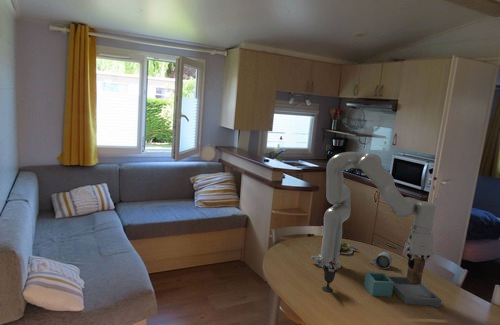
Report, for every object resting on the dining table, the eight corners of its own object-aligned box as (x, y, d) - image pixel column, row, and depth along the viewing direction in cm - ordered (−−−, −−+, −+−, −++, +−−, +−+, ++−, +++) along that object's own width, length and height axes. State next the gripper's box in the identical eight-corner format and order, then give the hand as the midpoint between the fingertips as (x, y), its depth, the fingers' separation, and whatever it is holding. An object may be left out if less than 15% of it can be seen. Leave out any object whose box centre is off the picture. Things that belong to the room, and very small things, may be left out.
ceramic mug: (391, 265, 189) (393, 252, 188) (389, 271, 182) (391, 257, 181) (371, 260, 194) (373, 247, 193) (368, 265, 187) (370, 251, 186)
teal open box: (371, 297, 154) (374, 282, 153) (363, 286, 163) (366, 272, 162) (391, 298, 155) (393, 282, 154) (382, 287, 164) (384, 272, 163)
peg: (411, 284, 157) (415, 260, 155) (406, 279, 161) (410, 256, 159) (420, 284, 157) (424, 260, 155) (415, 279, 162) (419, 256, 160)
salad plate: (357, 247, 211) (358, 240, 211) (357, 258, 195) (358, 251, 194) (325, 241, 217) (326, 234, 216) (322, 251, 200) (323, 244, 199)
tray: (404, 305, 150) (406, 298, 149) (384, 282, 170) (385, 275, 169) (440, 307, 151) (441, 299, 151) (415, 283, 171) (416, 276, 170)
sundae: (335, 287, 160) (339, 257, 158) (334, 294, 154) (338, 263, 151) (321, 284, 162) (325, 254, 160) (319, 291, 156) (323, 259, 153)
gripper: (408, 231, 151) (402, 270, 154) (445, 233, 152) (438, 272, 155) (399, 225, 158) (393, 263, 161) (435, 227, 160) (428, 264, 163)
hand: (415, 267), depth 158 cm, fingers closed on peg, 4 cm apart
